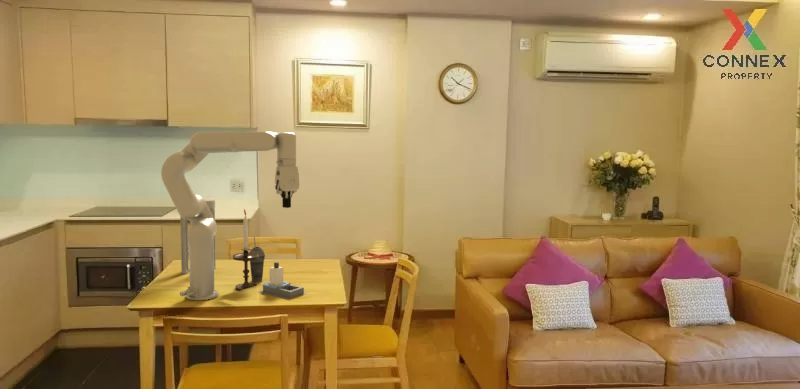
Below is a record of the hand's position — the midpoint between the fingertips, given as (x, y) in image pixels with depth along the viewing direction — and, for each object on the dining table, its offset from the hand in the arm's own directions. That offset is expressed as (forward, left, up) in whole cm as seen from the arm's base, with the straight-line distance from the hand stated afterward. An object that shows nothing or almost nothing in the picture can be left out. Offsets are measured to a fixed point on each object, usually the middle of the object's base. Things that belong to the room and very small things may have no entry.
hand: (286, 207), depth 235 cm
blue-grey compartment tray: (-1, +1, -37) cm, 37 cm away
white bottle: (-1, +5, -36) cm, 36 cm away
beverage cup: (+8, +26, -37) cm, 46 cm away
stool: (+3, +60, -37) cm, 71 cm away
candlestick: (-3, +21, -37) cm, 43 cm away
